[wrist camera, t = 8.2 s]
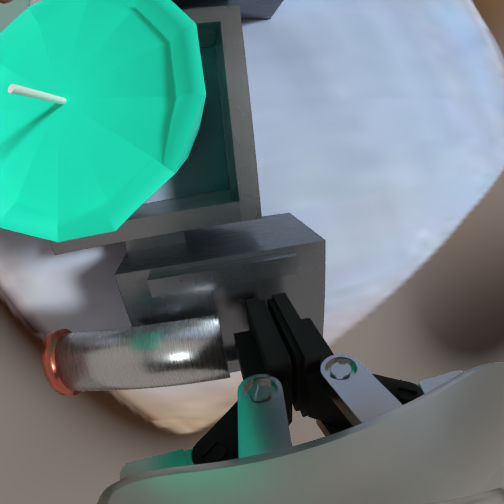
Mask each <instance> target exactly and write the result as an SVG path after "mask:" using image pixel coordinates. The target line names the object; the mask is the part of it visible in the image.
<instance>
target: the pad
mask: <svg viewBox="0 0 504 504" xmlns="http://www.w3.org/2000/svg"><path fill="white" fill-rule="evenodd" d="M29 3H30V0H13V1H11V2H10V3H7V4H2V3H0V33H1V32H2V31H3V30H4V29H5V28H6V27H7V26H8V25H9V24H10V23H11V22H13V21H14V20H15V19H16V18H17V17H18V16H19V15H20V14H21V13H23V12H24V11H25V10H26V9H27V8H28V7H29Z"/></svg>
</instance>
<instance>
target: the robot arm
mask: <svg viewBox="0 0 504 504" xmlns="http://www.w3.org/2000/svg"><path fill="white" fill-rule="evenodd" d="M245 304H246V311H247V319H248V326H249V331H244V332H238V333H234V339H235V345H236V350H237V355H238V360H239V364H240V368H241V373H242V377H243V381H242V382H241V384H240V385H239V387H238V401H237V402H236V403H235V404H234V405H233V406H232V407H231V408H230V410H229V411H228V412H227V413H226V414H225V415H224V416H223V417H222V418H221V419H220V420H219V421H218V422H217V423H216V424H215V425H214V426H213V427H212V428H211V429H210V430H209V431H208V433H206V434H205V435H204V436H203V437H202V438H201V439H200V440H199V441H198V442H197V443H196V445H195V446H194V447H193V449H189V450H186V451H183V449H181V450H177V451H173V452H170V453H165V454H161V455H157V456H153V457H149V458H144V459H140V460H135V461H132V462H129V463H127V464H126V465H125V466H123V467H122V469H121V472H120V480H119V481H118V482H116V483H114V484H112V485H110V486H109V487H107V488H106V489H105V490H104V491H103V493H102V494H101V496H100V498H99V500H98V503H97V504H504V363H501V362H498V363H490V364H485V365H481V366H478V367H475V368H473V369H470V370H468V371H466V372H463V371H454V372H451V373H448V374H444V375H441V376H437V377H434V378H430V379H427V380H423V381H419V383H418V385H416V384H413V383H411V382H407V381H402V380H397V379H393V378H388V377H384V376H380V375H375V374H371V373H370V372H369V371H368V370H367V369H366V368H365V367H364V366H363V365H362V364H361V363H360V362H359V361H358V360H357V359H356V358H354V357H353V356H350V355H346V354H335V355H334V354H333V353H332V351H331V349H330V348H329V346H328V345H327V343H326V342H325V340H324V339H323V337H322V336H321V334H320V332H319V331H318V329H317V328H316V326H315V325H314V323H313V322H312V320H311V319H310V318H305V319H301V318H300V316H299V315H298V313H297V311H296V310H295V308H294V306H293V305H292V303H291V302H290V300H289V298H288V297H287V295H286V293H285V292H283V293H278V294H273V295H271V298H270V299H267V304H268V307H267V305H266V303H265V301H264V300H259V298H258V297H257V298H252V299H247V300H245ZM292 404H293V406H294V409H295V410H296V411H299V410H300V411H301V414H302V416H303V417H305V416H309V417H311V418H314V419H316V423H317V425H318V426H319V428H320V429H321V431H322V432H323V434H324V435H325V437H323V438H320V439H316V440H313V441H310V442H307V443H303V444H300V445H296V446H292V443H291V437H290V431H289V425H290V423H291V422H292Z"/></svg>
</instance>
